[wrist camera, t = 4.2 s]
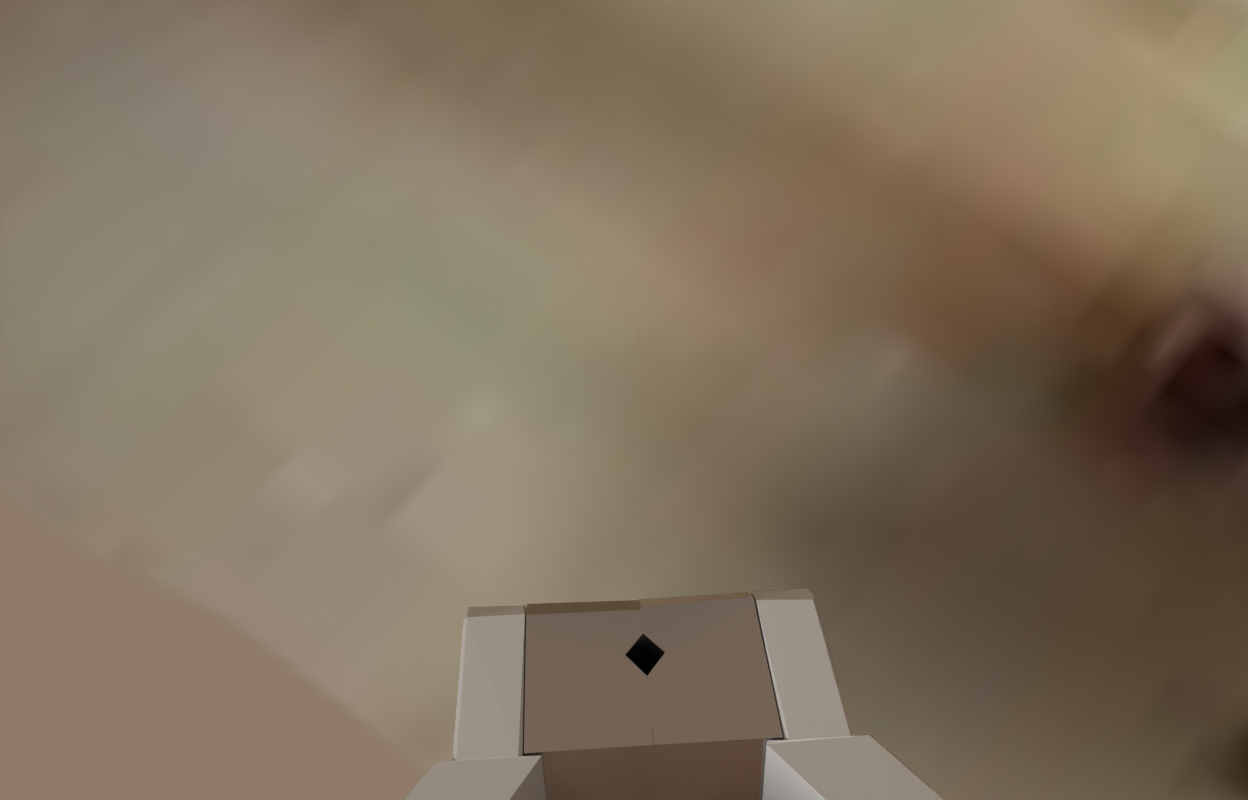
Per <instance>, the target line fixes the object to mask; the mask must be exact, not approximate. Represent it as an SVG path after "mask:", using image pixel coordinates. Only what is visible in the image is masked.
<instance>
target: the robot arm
mask: <svg viewBox="0 0 1248 800" xmlns="http://www.w3.org/2000/svg"><path fill="white" fill-rule="evenodd" d="M404 800H945V799H943V798H942V797H941V796H940V795H939V794H938V793H937V792H935V791H934V790H933V789H932V788H931V787H930V786H929V785H927V784H926V783H925V782H924V781H923V780H922V779H921V778H920V777H918V776H917V775H916V774H915V773H914V772H913V771H912V770H910V769H909V768H908V767H907V766H906V765H905V764H904V763H902V762H901V761H900V760H899V759H898V758H897V757H896V756H894V755H893V754H892V753H891V752H890V751H889V750H888V749H886V748H885V747H884V746H883V745H882V744H881V743H880V742H878V741H877V740H876V739H875V738H874V737H873V736H872V735H857V736H853V732H852V729H851V725H850V722H849V718H848V714H847V711H846V707H845V704H844V700H843V697H842V693H841V690H840V686H839V682H838V679H837V675H836V672H835V668H834V665H833V661H832V657H831V654H830V650H829V647H828V643H827V640H826V636H825V632H824V629H823V625H822V622H821V618H820V615H819V611H818V608H817V604H816V600H815V597H814V595H813V594H812V593H811V592H810V590H809V589H808V588H800V589H785V590H771V591H757V592H752V593H751V594H749V593H748V592H745V593H730V594H715V595H700V596H685V597H670V598H655V599H640V600H634V601H604V602H574V603H544V604H527V607H526V606H490V607H468V610H467V613H466V616H465V619H464V624H463V637H462V649H461V661H460V673H459V686H458V698H457V710H456V723H455V735H454V747H453V759H452V760H451V761H439V762H434V763H433V765H432V766H431V767H430V768H429V769H428V771H427V772H426V773H425V774H424V775H423V777H422V778H421V779H420V780H419V781H418V783H417V784H416V785H415V786H414V787H413V789H412V790H411V791H410V792H409V793H408V795H407V796H406V797H405V798H404Z"/></svg>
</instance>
